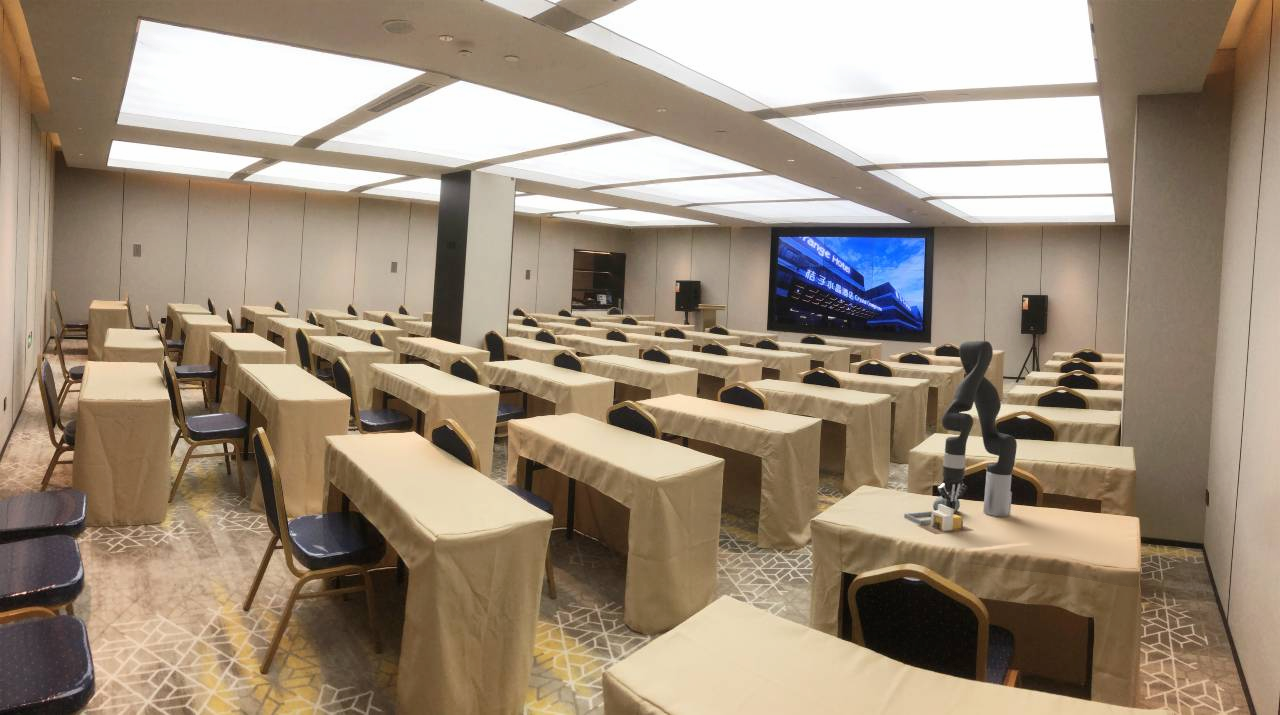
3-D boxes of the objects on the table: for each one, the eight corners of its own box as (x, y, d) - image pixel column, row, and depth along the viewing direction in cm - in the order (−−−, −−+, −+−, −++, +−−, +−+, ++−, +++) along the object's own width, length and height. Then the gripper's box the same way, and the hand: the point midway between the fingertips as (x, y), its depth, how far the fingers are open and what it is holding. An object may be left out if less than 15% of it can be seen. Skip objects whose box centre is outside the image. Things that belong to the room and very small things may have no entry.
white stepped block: (939, 524, 276) (940, 503, 275) (952, 530, 270) (953, 509, 269) (930, 525, 275) (932, 504, 274) (943, 531, 268) (945, 509, 268)
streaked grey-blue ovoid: (955, 514, 283) (947, 489, 287) (932, 519, 289) (924, 495, 293) (968, 515, 292) (960, 491, 296) (946, 521, 298) (938, 497, 302)
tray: (931, 517, 289) (932, 511, 289) (948, 524, 280) (949, 518, 280) (904, 519, 284) (904, 513, 284) (920, 527, 276) (920, 521, 276)
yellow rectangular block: (954, 525, 277) (955, 514, 276) (961, 528, 273) (962, 517, 273) (935, 526, 274) (936, 516, 273) (942, 529, 270) (943, 519, 270)
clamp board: (954, 524, 281) (954, 515, 280) (973, 532, 271) (974, 523, 271) (916, 527, 275) (916, 519, 274) (935, 536, 265) (935, 527, 265)
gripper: (960, 462, 277) (956, 506, 279) (932, 463, 272) (929, 508, 274) (975, 466, 270) (971, 512, 272) (947, 468, 265) (943, 514, 267)
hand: (950, 510), depth 273 cm, fingers closed
